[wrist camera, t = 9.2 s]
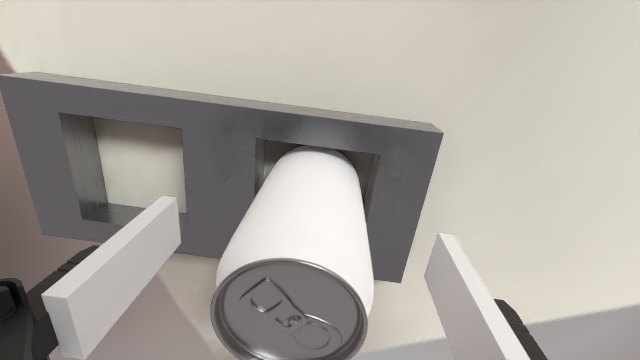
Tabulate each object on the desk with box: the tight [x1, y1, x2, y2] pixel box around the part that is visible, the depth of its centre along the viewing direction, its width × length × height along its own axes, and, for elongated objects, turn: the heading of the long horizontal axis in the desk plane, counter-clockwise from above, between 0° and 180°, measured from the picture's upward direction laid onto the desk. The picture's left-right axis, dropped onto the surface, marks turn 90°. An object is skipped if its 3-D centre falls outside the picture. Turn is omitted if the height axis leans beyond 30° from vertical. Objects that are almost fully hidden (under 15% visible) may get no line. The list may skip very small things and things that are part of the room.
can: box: [210, 145, 374, 360], centre depth 16 cm, size 6×6×12 cm
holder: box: [0, 72, 444, 283], centre depth 21 cm, size 11×26×2 cm, turn 83°
